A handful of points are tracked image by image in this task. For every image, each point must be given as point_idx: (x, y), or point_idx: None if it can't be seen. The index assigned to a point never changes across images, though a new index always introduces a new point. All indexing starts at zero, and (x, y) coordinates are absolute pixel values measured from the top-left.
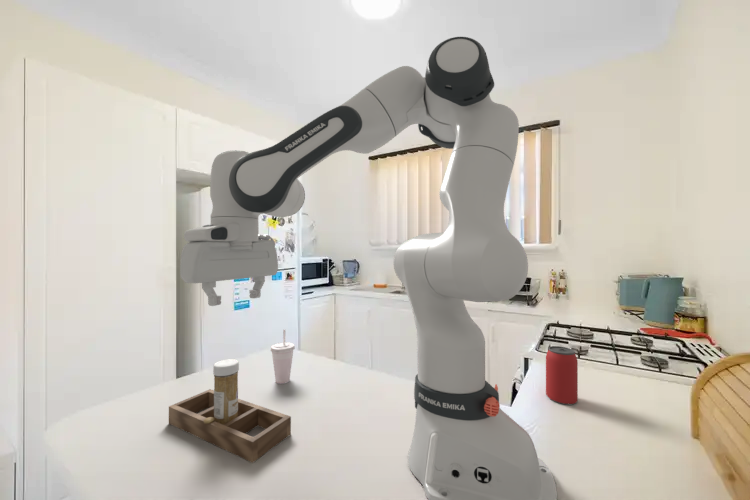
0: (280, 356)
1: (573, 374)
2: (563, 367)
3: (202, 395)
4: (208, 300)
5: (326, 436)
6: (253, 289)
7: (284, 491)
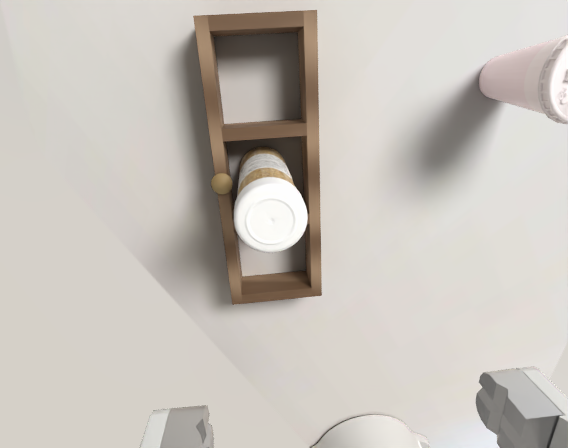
0: (533, 100)
1: None
2: None
3: (284, 27)
4: (145, 437)
5: (339, 322)
6: (559, 421)
7: (225, 352)
